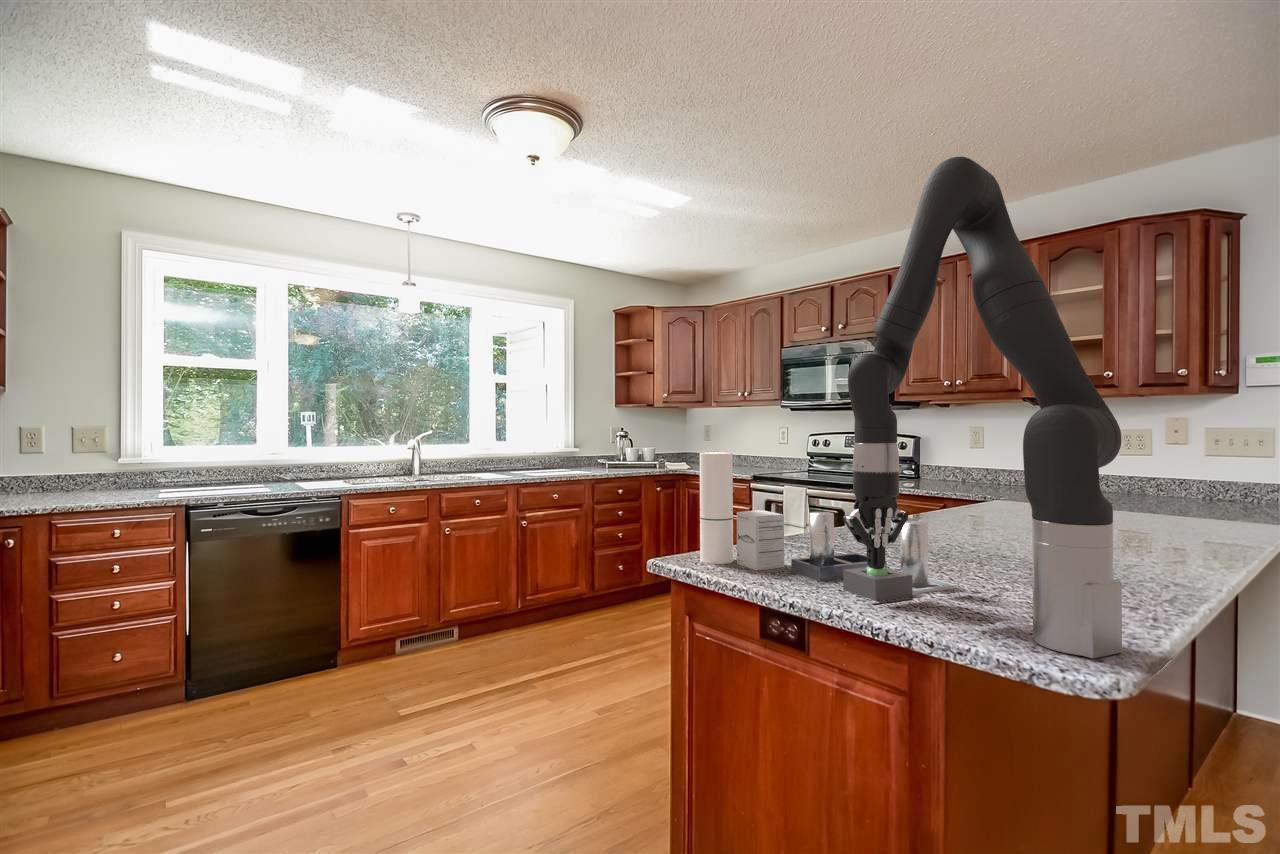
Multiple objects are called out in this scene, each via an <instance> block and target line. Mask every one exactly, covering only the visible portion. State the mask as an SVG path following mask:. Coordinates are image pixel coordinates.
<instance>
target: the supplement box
mask: <svg viewBox="0 0 1280 854" xmlns="http://www.w3.org/2000/svg"><path fill="white" fill-rule="evenodd" d="M736 565H739V566H741V567H745V568H748V569H750V570H754V571H762V570H763V571H764V570H771V569H777V568H784V567H785V514H784V513H783V514H782V513H778V512H773V511H768V510H763V509H758V510H747V511H737V512H736Z"/></svg>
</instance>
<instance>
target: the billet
mask: <svg viewBox="0 0 1280 854" xmlns="http://www.w3.org/2000/svg"><path fill="white" fill-rule="evenodd" d="M928 527H929V526H928V522H925V521H920V520H907V521H906V523H905V525H904V527H903V528H902V530H901V532H900V533H899V536H900V547H899V548H900V572H902V573H906V574H909V575H912V588H915V589H919V588H927V587H929V581H928V577H929V552H928V551H929V545H928V544H929V543H928V542H929V540H928V539H929V534H928V532H929V531H928V530H929V529H928Z"/></svg>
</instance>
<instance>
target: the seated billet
mask: <svg viewBox="0 0 1280 854" xmlns="http://www.w3.org/2000/svg"><path fill="white" fill-rule="evenodd" d="M834 555H835V513H833V512H828V511H811V512H809V557H810V564H812V565H816V566H829V565H834Z"/></svg>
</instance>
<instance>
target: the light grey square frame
mask: <svg viewBox="0 0 1280 854" xmlns="http://www.w3.org/2000/svg"><path fill="white" fill-rule="evenodd" d="M929 582H930V583H933V584H936V585H935V586H927V587H923V588H914V587H912V590H913V595H915V594H922V593H923V594H925V593H930V592H937V591H946V590H953V589H954V590H955V589H958V584H954V583H952V582H947V581H944V580H940V579H937V578H933V577H929V576H928V583H929Z"/></svg>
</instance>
